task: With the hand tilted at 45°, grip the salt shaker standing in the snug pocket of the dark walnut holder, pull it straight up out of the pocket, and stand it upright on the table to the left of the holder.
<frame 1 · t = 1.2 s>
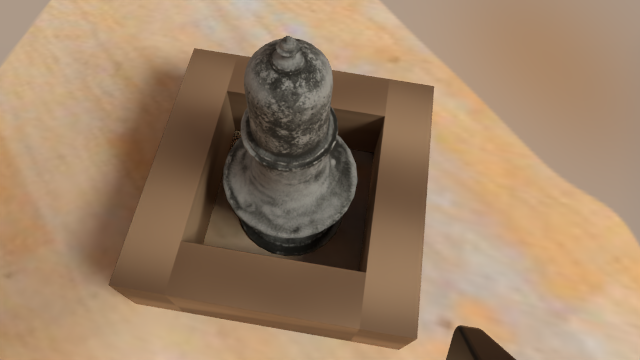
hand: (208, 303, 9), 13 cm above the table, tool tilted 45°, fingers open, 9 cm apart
holder: (291, 205, 24), on the table
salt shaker: (291, 206, 24), resting in holder
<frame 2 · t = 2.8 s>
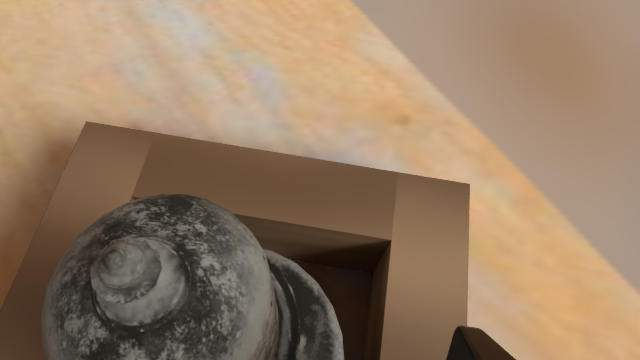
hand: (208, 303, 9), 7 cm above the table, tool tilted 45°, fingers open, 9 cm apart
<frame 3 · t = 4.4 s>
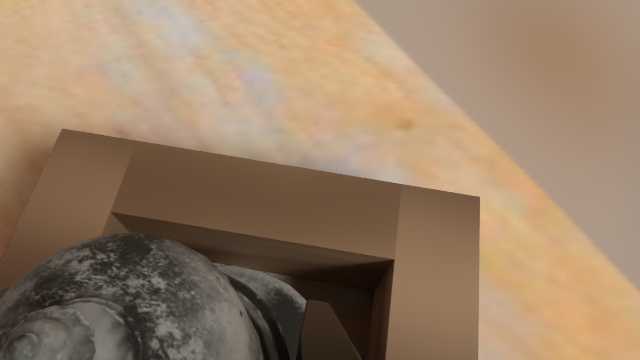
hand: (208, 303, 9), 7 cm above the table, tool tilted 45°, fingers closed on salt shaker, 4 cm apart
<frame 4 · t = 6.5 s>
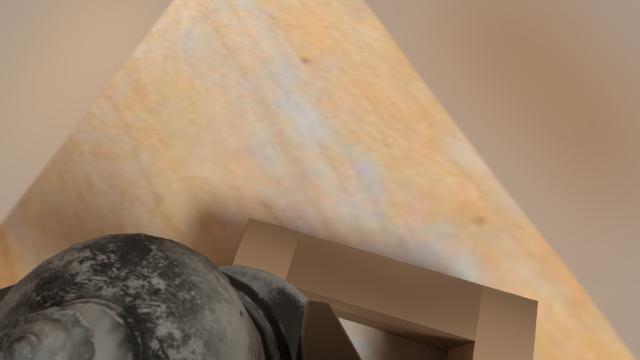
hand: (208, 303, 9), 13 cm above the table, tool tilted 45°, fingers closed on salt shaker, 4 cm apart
when the fingers open (7 cm above the table, at t = 9.1 s): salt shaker stays where it is, on the table.
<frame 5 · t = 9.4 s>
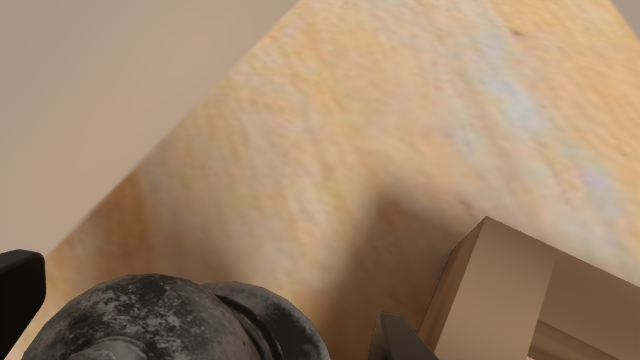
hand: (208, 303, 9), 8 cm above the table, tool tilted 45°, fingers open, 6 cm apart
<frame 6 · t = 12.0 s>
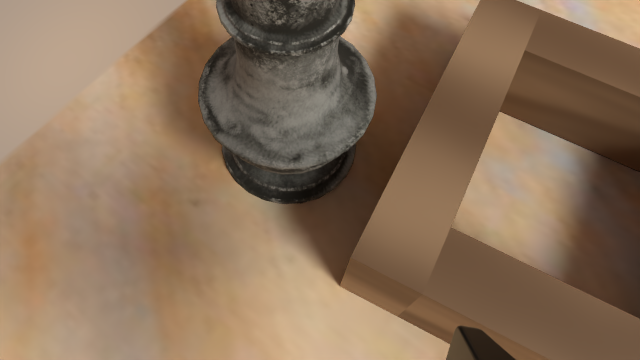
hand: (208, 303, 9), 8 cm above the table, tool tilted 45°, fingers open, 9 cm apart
holder: (551, 220, 18), on the table
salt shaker: (289, 145, 19), on the table
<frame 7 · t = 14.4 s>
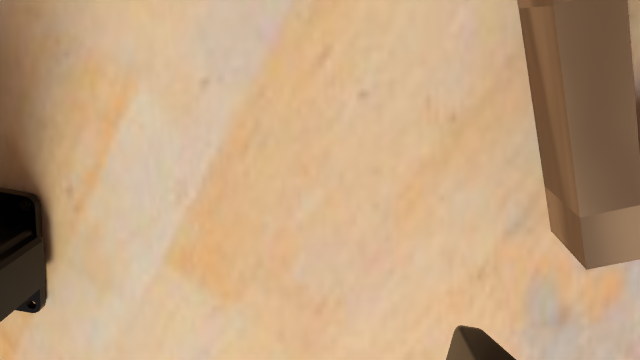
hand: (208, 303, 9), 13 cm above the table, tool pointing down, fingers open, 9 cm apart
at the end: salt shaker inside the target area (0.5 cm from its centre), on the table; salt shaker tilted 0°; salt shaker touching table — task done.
